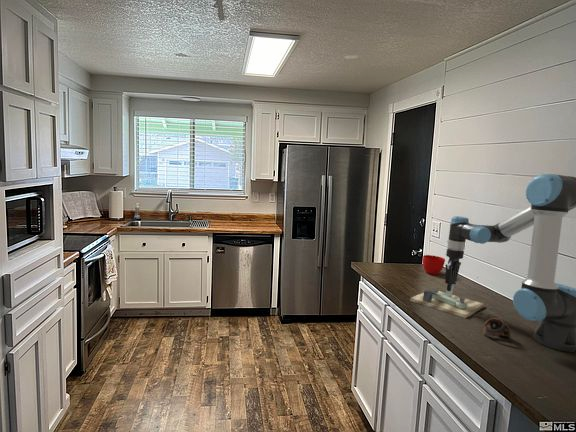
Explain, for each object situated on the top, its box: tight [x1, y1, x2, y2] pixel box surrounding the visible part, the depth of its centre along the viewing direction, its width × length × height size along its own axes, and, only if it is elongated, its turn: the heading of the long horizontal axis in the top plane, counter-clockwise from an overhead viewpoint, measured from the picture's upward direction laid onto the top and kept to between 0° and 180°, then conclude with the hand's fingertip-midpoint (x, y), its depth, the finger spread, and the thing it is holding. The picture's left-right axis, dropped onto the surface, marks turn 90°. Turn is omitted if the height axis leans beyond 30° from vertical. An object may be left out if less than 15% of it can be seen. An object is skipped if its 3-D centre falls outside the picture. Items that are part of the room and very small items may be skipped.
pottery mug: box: [482, 316, 512, 340], centre depth 161 cm, size 12×10×8 cm
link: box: [432, 293, 468, 309], centre depth 194 cm, size 22×5×2 cm, turn 34°
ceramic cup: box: [422, 254, 446, 276], centre depth 255 cm, size 13×17×10 cm
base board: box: [409, 290, 485, 319], centre depth 196 cm, size 26×25×7 cm
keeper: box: [423, 287, 440, 302], centre depth 195 cm, size 3×10×4 cm, turn 138°
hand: (448, 296), depth 196 cm, fingers closed
